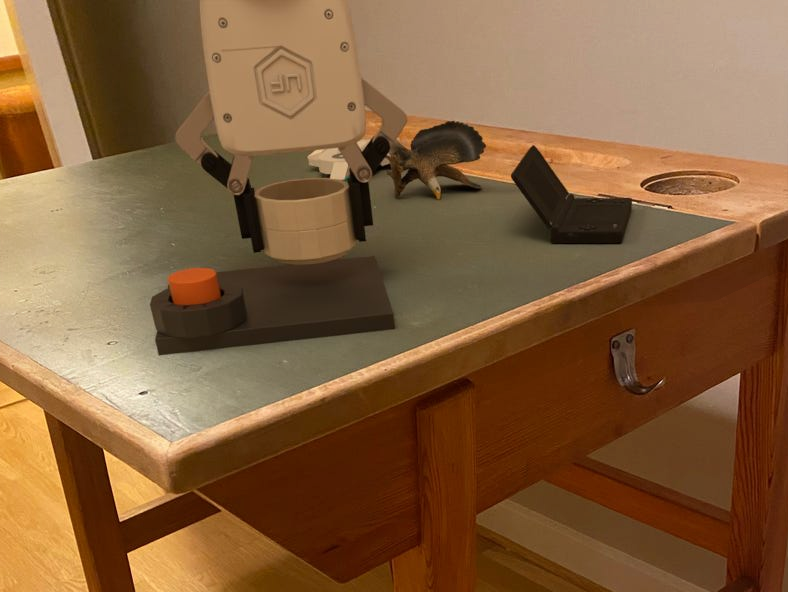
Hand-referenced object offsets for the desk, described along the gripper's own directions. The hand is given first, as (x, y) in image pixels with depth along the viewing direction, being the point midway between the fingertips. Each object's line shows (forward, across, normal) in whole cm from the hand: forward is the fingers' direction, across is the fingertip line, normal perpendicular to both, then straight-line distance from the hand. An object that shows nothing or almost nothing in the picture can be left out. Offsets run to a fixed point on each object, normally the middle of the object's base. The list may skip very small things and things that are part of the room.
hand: (309, 240), depth 75 cm
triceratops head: (+4, +13, +27) cm, 30 cm away
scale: (+4, -3, -3) cm, 6 cm away
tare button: (+1, -8, -7) cm, 11 cm away
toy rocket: (+4, +6, +42) cm, 43 cm away
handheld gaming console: (+4, +23, +11) cm, 26 cm away
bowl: (+1, 0, 0) cm, 1 cm away
